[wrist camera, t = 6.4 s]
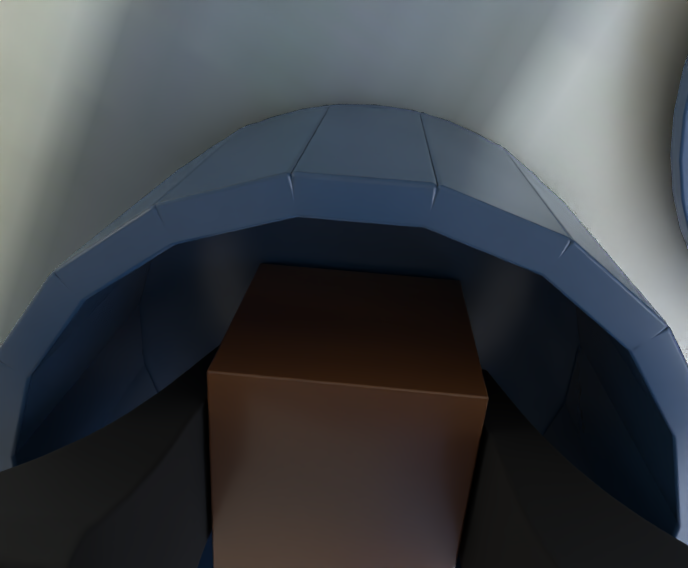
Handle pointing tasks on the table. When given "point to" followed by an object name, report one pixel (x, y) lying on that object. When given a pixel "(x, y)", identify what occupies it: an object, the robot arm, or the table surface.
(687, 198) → the lid
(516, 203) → the bowl
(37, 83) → the table surface
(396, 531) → the block
